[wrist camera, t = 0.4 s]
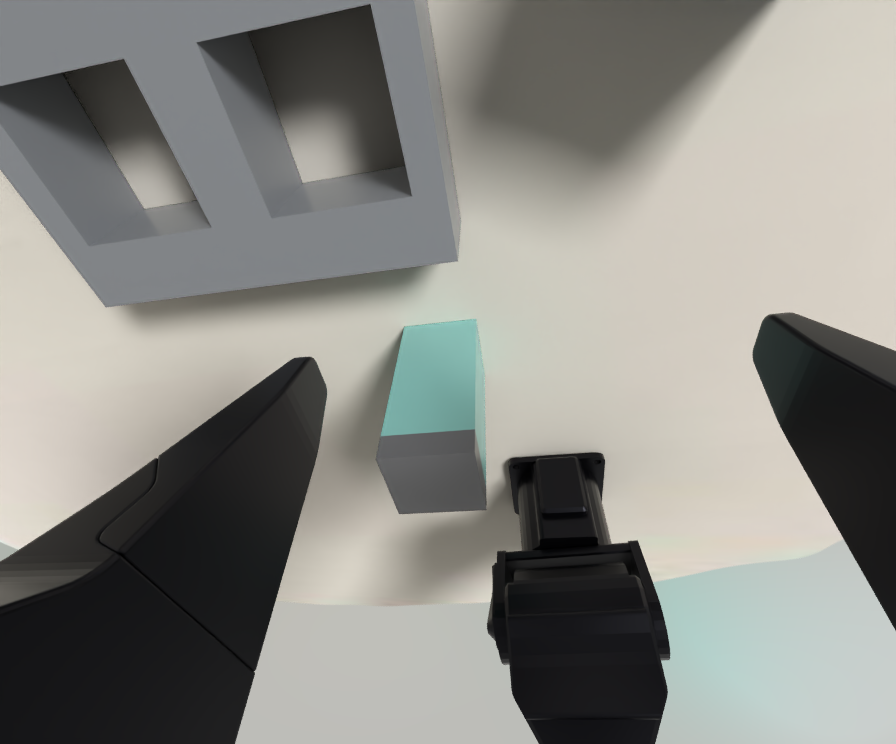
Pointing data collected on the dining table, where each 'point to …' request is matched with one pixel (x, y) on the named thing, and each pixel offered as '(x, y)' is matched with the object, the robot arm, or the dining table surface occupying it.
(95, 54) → the socket plate
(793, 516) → the dining table surface
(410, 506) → the plug
